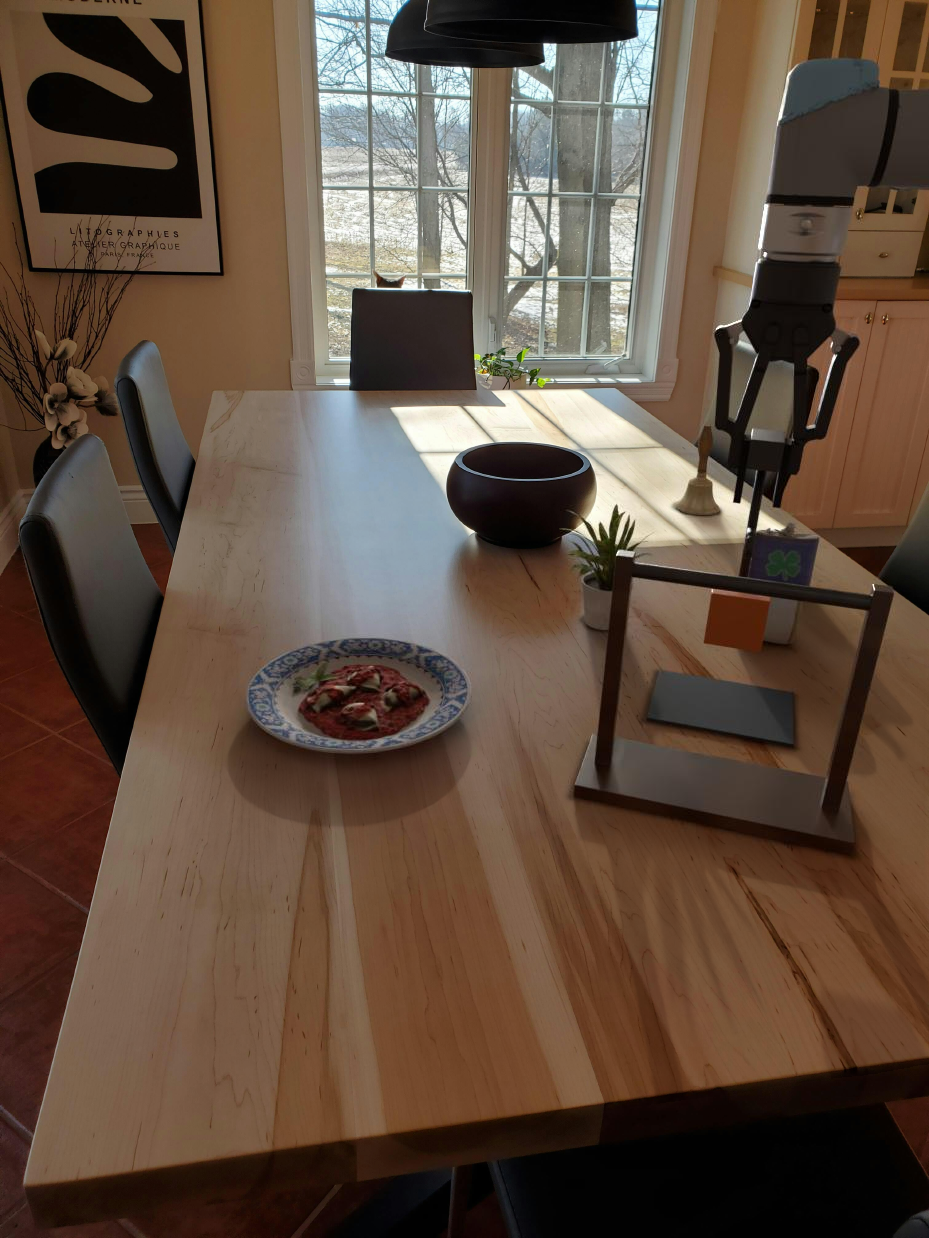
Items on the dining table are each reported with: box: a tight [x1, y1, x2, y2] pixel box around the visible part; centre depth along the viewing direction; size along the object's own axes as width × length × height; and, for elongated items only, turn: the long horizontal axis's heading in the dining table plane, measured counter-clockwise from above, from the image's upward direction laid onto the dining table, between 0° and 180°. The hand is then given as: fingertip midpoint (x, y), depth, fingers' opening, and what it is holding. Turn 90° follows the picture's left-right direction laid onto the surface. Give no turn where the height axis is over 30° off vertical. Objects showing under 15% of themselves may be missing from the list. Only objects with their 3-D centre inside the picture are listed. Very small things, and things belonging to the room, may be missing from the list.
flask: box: [748, 521, 820, 586], centre depth 135 cm, size 9×3×11 cm, turn 80°
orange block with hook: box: [703, 428, 786, 653], centre depth 95 cm, size 6×6×22 cm
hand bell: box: [674, 424, 721, 516], centre depth 168 cm, size 8×8×16 cm
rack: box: [573, 550, 895, 856], centre depth 85 cm, size 26×10×24 cm, turn 72°
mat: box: [646, 669, 795, 748], centre depth 106 cm, size 16×12×1 cm
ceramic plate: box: [245, 636, 473, 755], centre depth 104 cm, size 26×26×3 cm
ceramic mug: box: [763, 597, 804, 645], centre depth 122 cm, size 11×8×8 cm
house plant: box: [560, 503, 655, 631], centre depth 123 cm, size 14×14×16 cm
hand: (756, 501), depth 93 cm, fingers closed on orange block with hook, 3 cm apart
